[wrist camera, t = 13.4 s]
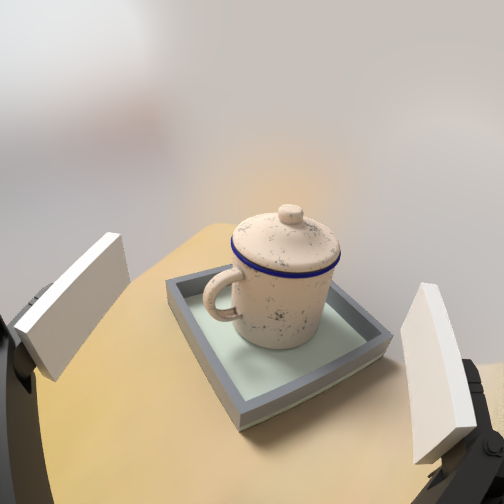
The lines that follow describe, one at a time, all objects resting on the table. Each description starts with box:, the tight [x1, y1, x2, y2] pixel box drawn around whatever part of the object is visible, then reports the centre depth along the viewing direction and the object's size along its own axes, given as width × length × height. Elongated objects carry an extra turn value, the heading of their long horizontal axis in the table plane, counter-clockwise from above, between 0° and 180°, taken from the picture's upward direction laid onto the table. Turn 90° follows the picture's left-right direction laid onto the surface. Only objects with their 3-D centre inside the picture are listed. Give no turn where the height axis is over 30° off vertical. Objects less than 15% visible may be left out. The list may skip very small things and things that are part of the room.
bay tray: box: [165, 264, 393, 432], centre depth 30 cm, size 16×16×3 cm
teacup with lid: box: [203, 204, 341, 349], centre depth 27 cm, size 12×9×12 cm
